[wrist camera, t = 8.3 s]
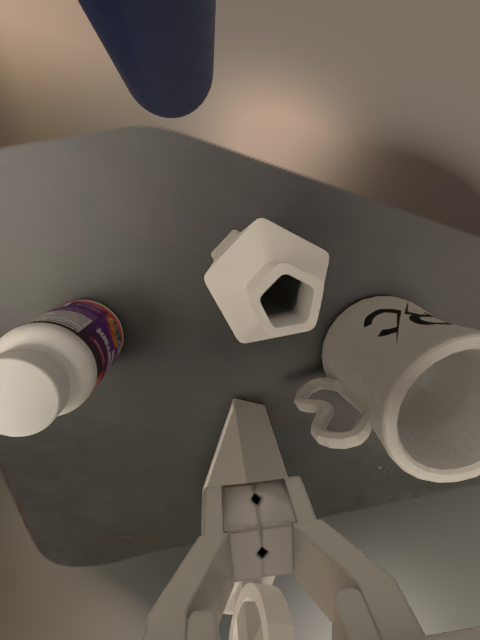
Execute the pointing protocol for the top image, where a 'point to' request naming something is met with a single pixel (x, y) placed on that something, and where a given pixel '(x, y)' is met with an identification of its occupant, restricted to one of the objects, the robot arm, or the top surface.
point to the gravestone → (246, 467)
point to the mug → (403, 387)
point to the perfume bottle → (267, 281)
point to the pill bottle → (55, 364)
